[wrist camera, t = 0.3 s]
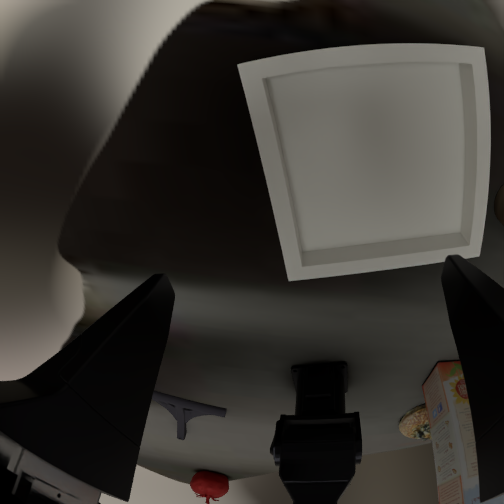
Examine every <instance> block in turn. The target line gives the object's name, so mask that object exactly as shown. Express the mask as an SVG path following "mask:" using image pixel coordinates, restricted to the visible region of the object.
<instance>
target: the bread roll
mask: <svg viewBox="0 0 504 504" xmlns="http://www.w3.org/2000/svg"><path fill="white" fill-rule="evenodd" d="M399 430H400V431H401V432H402V434H403V435H405V436H407V437H410V438H416V439H419V438H421V439H422V440H423V441H425V440H426V439H428V438H429V439H432V437H431V432H430V426H429V420H428V414H427V408H426V404H424V405H421V406H417V407H416V408H414V409H412V410H410V411H407V413H406V414H405V415H404V417H403V418H402V420H401V422H400V424H399Z"/></svg>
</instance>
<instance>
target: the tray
mask: <svg viewBox="0 0 504 504" xmlns="http://www.w3.org/2000/svg"><path fill="white" fill-rule="evenodd" d="M237 66H238V69H239V73H240V77H241V81H242V85H243V89H244V92H245V96H246V100H247V104H248V108H249V112H250V116H251V120H252V124H253V128H254V132H255V136H256V140H257V144H258V148H259V153H260V157H261V161H262V165H263V169H264V173H265V178H266V182H267V186H268V190H269V195H270V199H271V203H272V208H273V212H274V217H275V221H276V225H277V230H278V234H279V239H280V243H281V248H282V253H283V257H284V262H285V266H286V271H287V276H288V280H289V281H295V280H304V279H313V278H322V277H331V276H340V275H348V274H356V273H364V272H372V271H380V270H388V269H396V268H403V267H410V266H418V265H425V264H432V263H439V262H445V259H446V257H447V256H448V255H454V254H458V255H460V256H462V257H463V258H464V259H466V258H472V257H479V256H480V250H481V244H482V238H483V232H484V225H485V217H486V209H487V199H488V188H489V174H490V148H491V127H490V101H489V87H488V77H487V68H486V60H485V53H484V48H482V47H473V46H462V45H448V44H421V43H399V44H372V45H357V46H345V47H335V48H326V49H318V50H311V51H304V52H297V53H291V54H286V55H280V56H275V57H269V58H264V59H260V60H255V61H250V62H246V63H242V64H237Z"/></svg>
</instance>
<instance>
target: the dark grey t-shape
mask: <svg viewBox="0 0 504 504" xmlns="http://www.w3.org/2000/svg"><path fill="white" fill-rule="evenodd" d="M152 399H153V400H154V401H156V402H157V403H159V404H160V405H162V406H163V407H165V408H166V409H167V410H168V411H169V412H170V413H171V414H172V415H173V416H174V418H175V419H176V420H177V439H181V440H184V439H185V436H186V423H187V422H188V421H189V420H190V419H192V418H193V417H197V416H202V415H216V416H220V417H225V414H226V409H225V408H220V407H216V406H211V405H207V404H203V403H198V402H194V401H190V400H186V399H182V398H179V397H175V396H171V395H168V394H164V393H161V392H157V391H154V392H153V395H152ZM185 408H187V409H185Z"/></svg>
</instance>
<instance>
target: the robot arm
mask: <svg viewBox="0 0 504 504" xmlns="http://www.w3.org/2000/svg"><path fill="white" fill-rule="evenodd" d="M441 281H442V287H443V291H444V296H445V300H446V305H447V310H448V316H449V321H450V325H451V329H452V332H453V336H454V339H455V343H456V347H457V351H458V355H459V359H460V363H461V367H462V371H463V375H464V380H465V385H466V389H467V394H468V399H469V405H470V410H471V416H472V422H473V429H474V436H475V442H476V443H475V445H476V454H477V464H478V476H479V495H480V503H483V502H485V501H488V500H491V499H494V498H496V497H499V496H501V495H504V288H503V287H501V286H500V285H499V284H498V283H496V282H495V281H494V280H492V279H491V278H490V277H489V276H487V275H486V274H485V273H483V272H482V271H481V270H479V269H478V268H477V267H475V266H474V265H473V264H471V263H470V262H468V261H467V260H466V259H464V258H463V257H462V256H460V255H458V254H454V255H448V256H447V257H446V259H445V263H444V267H443V271H442V276H441ZM174 301H175V293H174V290H173V288H172V285H171V283H170V281H169V279H168V276H167V275H166V274H154V275H152V276H151V277H150V278H149V279H147V280H146V281H145V282H144V283H142V284H141V285H140V286H139V287H137V288H136V289H135V290H134V291H132V292H131V293H130V294H129V295H127V296H126V297H125V298H124V299H122V300H121V301H120V302H119V303H118V304H116V305H115V306H114V307H113V308H111V309H110V310H109V311H108V312H106V313H105V314H104V315H103V316H102V317H100V318H99V319H98V320H97V321H96V322H94V323H93V324H92V325H91V326H90V327H88V328H87V329H86V330H85V331H84V332H82V334H80V335H79V336H78V337H76V338H75V339H74V340H73V341H72V342H71V343H69V344H68V345H67V346H66V347H64V348H63V349H62V350H61V351H59V352H58V353H57V354H55V355H54V356H53V357H51V358H50V359H49V360H47V361H46V362H45V363H43V364H42V365H41V366H39V367H38V368H37V369H35V370H34V371H33V372H32V373H30V374H29V375H27V376H25V377H23V378H21V379H18V380H13V381H0V504H100V503H99V499H100V495H101V493H104V494H107V495H109V496H112V497H115V498H118V499H120V500H123V501H126V502H128V501H129V498H130V493H131V488H132V483H133V477H134V473H135V469H136V464H137V459H138V455H139V450H140V445H141V441H142V437H143V432H144V428H145V424H146V420H147V416H148V411H149V407H150V403H151V399H152V395H153V392H154V388H155V384H156V380H157V376H158V372H159V369H160V365H161V361H162V358H163V354H164V350H165V347H166V343H167V339H168V335H169V330H170V324H171V318H172V312H173V306H174ZM291 373H292V377H293V381H294V385H295V389H296V407H295V415H281V416H280V420H278V421H277V422H276V430H275V435H274V438H273V441H272V444H271V447H270V453H271V454H272V455H273V456H274V460H275V465H276V466H280V467H279V476H280V478H281V480H282V482H283V484H284V486H285V488H286V489H287V491H288V493H289V495H290V497H291V499H292V500H293V504H337V502H338V501H339V499H340V498H341V497H342V495H343V494H344V492H345V491H346V489H347V488H348V486H349V485H350V483H351V481H352V479H353V476H354V474H355V464H360V462H361V457H362V435H361V426H360V417H359V412H354V413H345V393H346V392H347V363H346V362H337V363H326V364H314V365H300V366H292V367H291Z"/></svg>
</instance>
